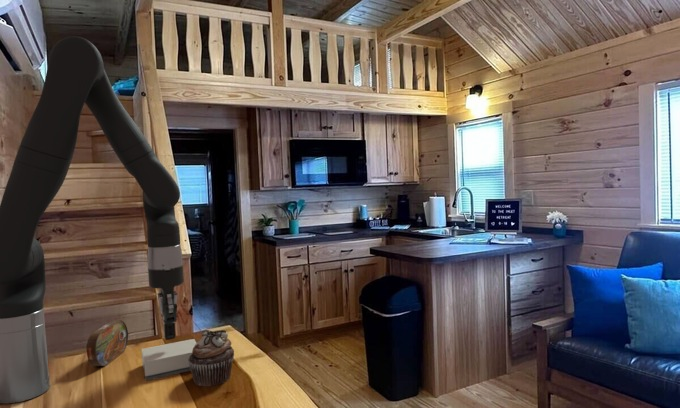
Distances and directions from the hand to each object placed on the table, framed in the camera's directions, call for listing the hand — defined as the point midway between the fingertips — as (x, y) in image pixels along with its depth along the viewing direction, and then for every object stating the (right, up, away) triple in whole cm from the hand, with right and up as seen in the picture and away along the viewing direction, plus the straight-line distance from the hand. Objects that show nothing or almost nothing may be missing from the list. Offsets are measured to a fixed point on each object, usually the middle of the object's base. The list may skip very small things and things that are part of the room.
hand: (170, 338), depth 105 cm
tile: (-2, -4, +4) cm, 6 cm away
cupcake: (+12, -7, -7) cm, 15 cm away
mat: (+1, -7, -1) cm, 7 cm away
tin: (-17, -7, +6) cm, 20 cm away
